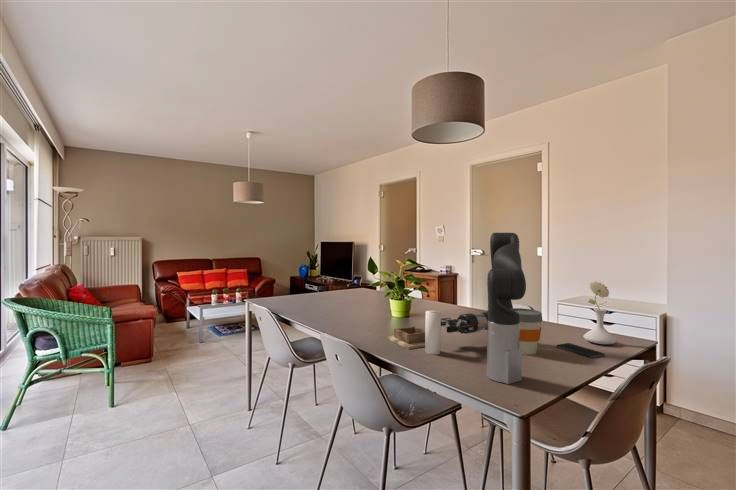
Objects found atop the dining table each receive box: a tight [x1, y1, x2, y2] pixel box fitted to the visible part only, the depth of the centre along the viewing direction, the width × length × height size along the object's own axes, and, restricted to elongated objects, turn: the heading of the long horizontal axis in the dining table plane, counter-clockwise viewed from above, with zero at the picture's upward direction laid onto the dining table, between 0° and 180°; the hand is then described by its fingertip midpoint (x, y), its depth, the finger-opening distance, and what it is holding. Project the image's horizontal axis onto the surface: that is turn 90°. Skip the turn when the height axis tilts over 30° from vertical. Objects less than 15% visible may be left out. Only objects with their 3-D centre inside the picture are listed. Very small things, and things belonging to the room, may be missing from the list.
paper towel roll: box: [424, 310, 442, 356], centre depth 134 cm, size 6×6×15 cm
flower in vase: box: [583, 280, 617, 345], centre depth 149 cm, size 13×11×25 cm
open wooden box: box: [386, 325, 425, 350], centre depth 148 cm, size 16×14×4 cm
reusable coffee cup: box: [511, 307, 543, 356], centre depth 137 cm, size 13×13×15 cm
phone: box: [556, 342, 606, 359], centre depth 137 cm, size 8×1×15 cm
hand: (439, 327), depth 136 cm, fingers open, 8 cm apart
